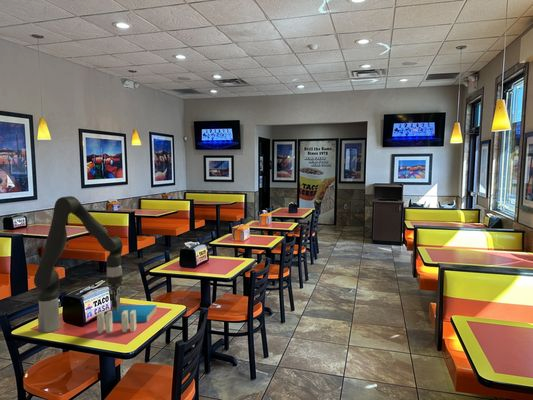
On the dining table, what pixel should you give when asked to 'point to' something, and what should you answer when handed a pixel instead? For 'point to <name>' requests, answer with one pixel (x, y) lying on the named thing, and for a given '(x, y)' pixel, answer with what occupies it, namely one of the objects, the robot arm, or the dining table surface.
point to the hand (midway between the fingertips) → (116, 304)
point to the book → (141, 312)
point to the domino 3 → (117, 303)
